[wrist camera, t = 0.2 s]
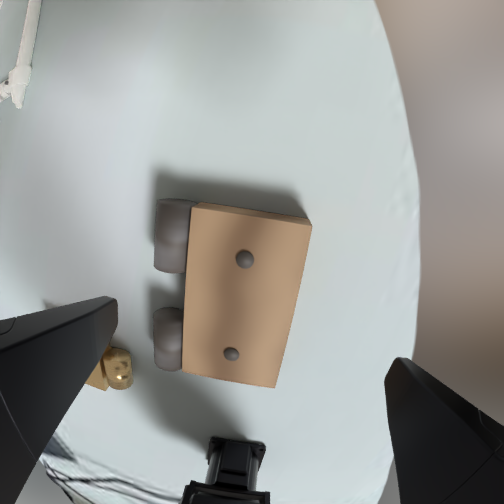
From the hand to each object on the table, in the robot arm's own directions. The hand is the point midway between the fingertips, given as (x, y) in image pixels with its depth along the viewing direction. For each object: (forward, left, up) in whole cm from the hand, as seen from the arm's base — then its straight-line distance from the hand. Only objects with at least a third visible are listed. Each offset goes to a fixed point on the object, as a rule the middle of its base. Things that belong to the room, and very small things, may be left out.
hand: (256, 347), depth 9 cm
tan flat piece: (-6, +3, -14) cm, 16 cm away
